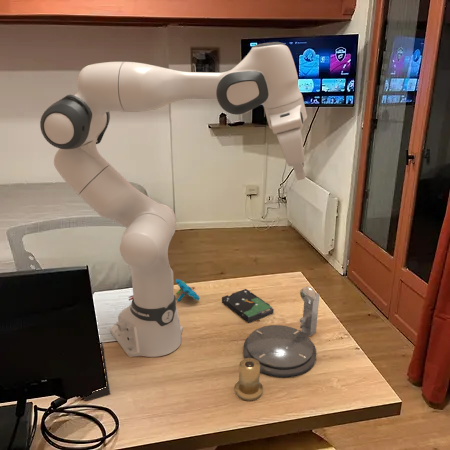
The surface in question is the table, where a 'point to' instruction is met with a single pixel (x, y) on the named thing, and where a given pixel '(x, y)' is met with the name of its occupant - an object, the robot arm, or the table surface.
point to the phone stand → (106, 390)
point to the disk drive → (247, 305)
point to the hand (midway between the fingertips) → (301, 172)
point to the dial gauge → (309, 310)
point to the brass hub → (249, 380)
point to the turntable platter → (280, 347)
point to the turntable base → (283, 373)
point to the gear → (185, 290)
